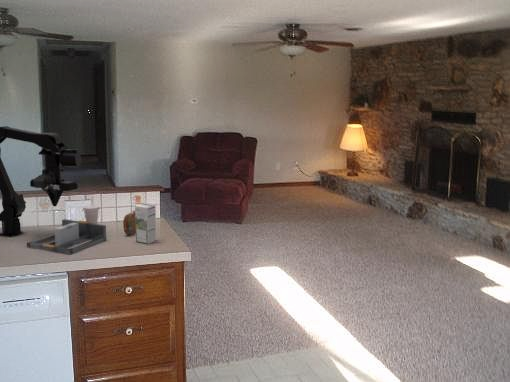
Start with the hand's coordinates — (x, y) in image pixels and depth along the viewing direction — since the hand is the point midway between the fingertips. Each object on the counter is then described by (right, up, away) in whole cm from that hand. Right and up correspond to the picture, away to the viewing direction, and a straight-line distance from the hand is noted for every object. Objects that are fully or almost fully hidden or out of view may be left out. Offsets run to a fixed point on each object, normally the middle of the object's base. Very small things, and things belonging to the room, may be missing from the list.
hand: (54, 206), depth 212 cm
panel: (+7, -14, -7) cm, 17 cm away
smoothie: (+11, -10, +13) cm, 20 cm away
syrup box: (+36, -14, -2) cm, 38 cm away
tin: (+28, -11, +11) cm, 32 cm away
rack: (+7, -14, -7) cm, 17 cm away
